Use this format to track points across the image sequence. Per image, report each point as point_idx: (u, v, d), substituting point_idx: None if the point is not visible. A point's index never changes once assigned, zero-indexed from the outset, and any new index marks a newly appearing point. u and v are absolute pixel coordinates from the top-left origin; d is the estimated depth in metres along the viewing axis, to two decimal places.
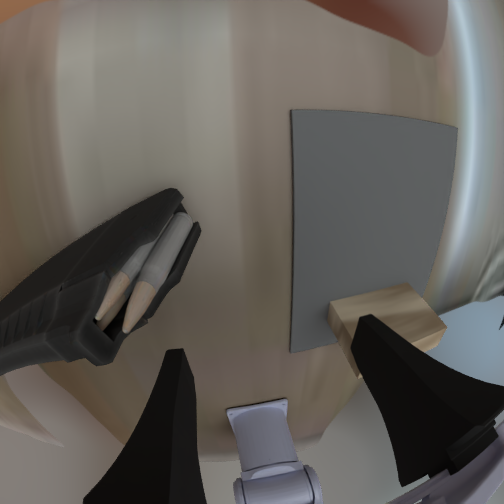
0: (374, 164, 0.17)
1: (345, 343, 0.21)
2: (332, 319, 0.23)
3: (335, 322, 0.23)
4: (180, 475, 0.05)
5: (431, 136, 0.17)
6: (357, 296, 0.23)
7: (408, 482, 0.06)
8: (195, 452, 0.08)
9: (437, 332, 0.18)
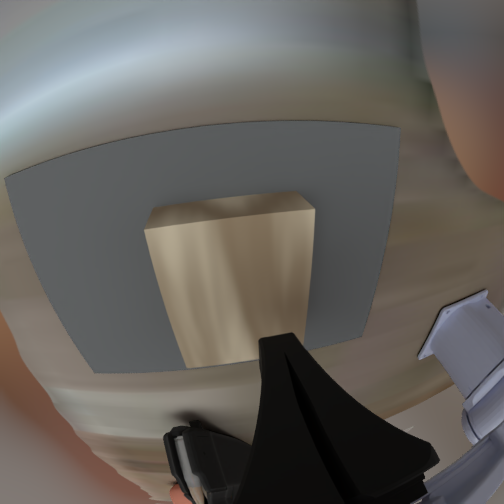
0: (103, 315, 0.15)
1: None
2: None
3: None
4: None
5: (36, 235, 0.12)
6: None
7: None
8: None
9: None
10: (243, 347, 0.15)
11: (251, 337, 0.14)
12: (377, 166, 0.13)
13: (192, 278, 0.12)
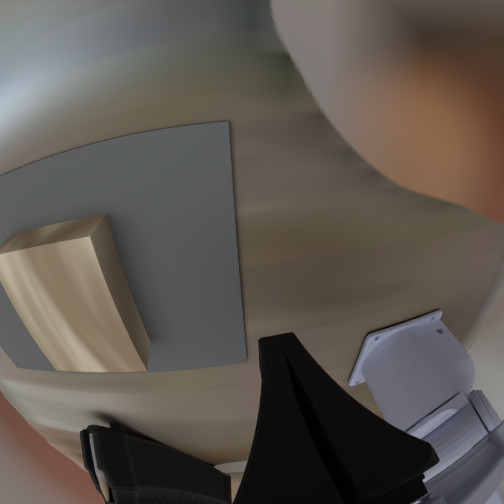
0: (6, 318, 0.13)
1: None
2: None
3: None
4: None
5: None
6: None
7: None
8: None
9: None
10: (88, 359, 0.13)
11: (90, 351, 0.13)
12: (198, 174, 0.12)
13: (25, 295, 0.10)
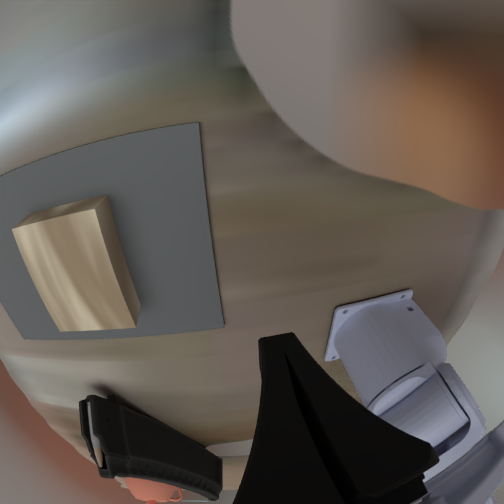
0: (18, 290, 0.17)
1: None
2: None
3: None
4: None
5: None
6: None
7: None
8: None
9: None
10: (87, 317, 0.17)
11: (89, 309, 0.16)
12: (177, 163, 0.15)
13: (40, 260, 0.14)
